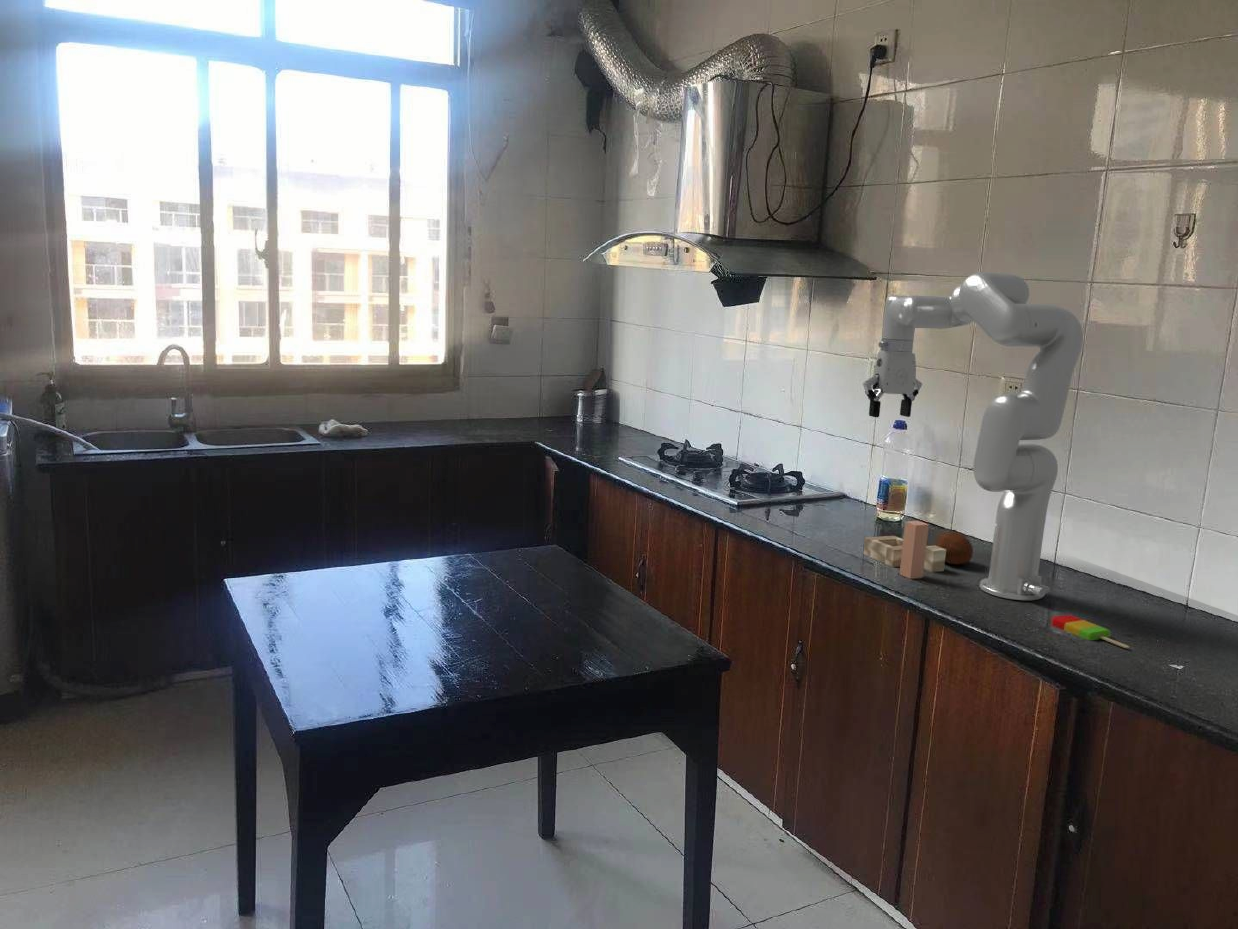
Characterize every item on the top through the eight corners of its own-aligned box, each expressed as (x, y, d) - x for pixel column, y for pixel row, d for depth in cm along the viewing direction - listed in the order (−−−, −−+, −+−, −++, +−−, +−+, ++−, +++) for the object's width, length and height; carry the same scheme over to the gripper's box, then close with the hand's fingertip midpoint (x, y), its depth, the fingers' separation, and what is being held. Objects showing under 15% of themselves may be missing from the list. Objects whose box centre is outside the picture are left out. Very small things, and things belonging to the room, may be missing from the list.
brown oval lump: (951, 555, 232) (955, 525, 231) (983, 568, 223) (986, 537, 221) (922, 557, 229) (925, 526, 228) (953, 570, 220) (956, 538, 218)
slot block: (921, 564, 223) (923, 547, 223) (892, 566, 220) (894, 549, 219) (892, 551, 233) (894, 535, 232) (863, 554, 229) (865, 537, 229)
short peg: (943, 571, 219) (946, 549, 218) (931, 572, 218) (933, 550, 217) (933, 566, 222) (935, 545, 221) (920, 567, 221) (923, 546, 220)
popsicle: (1067, 622, 189) (1069, 613, 189) (1137, 650, 176) (1139, 640, 176) (1047, 625, 187) (1049, 616, 187) (1117, 654, 174) (1118, 644, 173)
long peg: (922, 577, 213) (928, 524, 211) (909, 578, 212) (916, 525, 209) (912, 572, 216) (918, 520, 214) (899, 574, 215) (905, 521, 212)
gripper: (878, 347, 230) (871, 419, 233) (935, 348, 237) (927, 418, 240) (858, 344, 237) (851, 414, 240) (913, 346, 244) (906, 413, 247)
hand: (889, 416), depth 240 cm, fingers open, 9 cm apart
